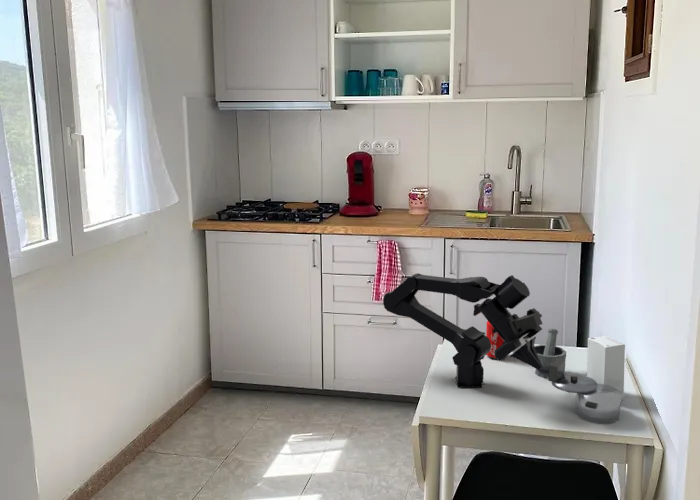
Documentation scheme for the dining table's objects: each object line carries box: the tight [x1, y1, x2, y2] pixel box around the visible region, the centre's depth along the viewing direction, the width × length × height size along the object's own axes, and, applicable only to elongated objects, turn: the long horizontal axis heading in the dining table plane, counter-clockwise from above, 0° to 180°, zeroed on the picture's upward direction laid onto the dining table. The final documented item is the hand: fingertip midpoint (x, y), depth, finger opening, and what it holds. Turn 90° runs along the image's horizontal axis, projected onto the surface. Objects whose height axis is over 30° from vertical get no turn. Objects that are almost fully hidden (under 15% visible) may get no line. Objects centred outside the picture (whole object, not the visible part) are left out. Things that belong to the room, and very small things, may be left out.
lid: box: [548, 358, 597, 394], centre depth 167 cm, size 11×11×5 cm
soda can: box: [485, 320, 504, 360], centre depth 204 cm, size 6×6×12 cm
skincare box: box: [586, 335, 626, 401], centre depth 175 cm, size 8×6×15 cm
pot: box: [575, 383, 622, 425], centre depth 165 cm, size 10×13×6 cm
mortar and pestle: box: [534, 328, 567, 379], centre depth 190 cm, size 11×9×12 cm
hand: (540, 368), depth 172 cm, fingers closed
